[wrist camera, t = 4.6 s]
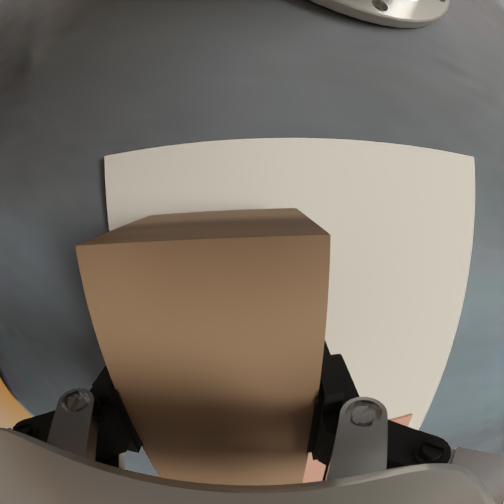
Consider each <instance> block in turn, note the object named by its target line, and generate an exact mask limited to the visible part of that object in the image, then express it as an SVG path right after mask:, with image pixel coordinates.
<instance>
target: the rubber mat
mask: <svg viewBox="0 0 504 504" xmlns="http://www.w3.org/2000/svg"><path fill="white" fill-rule="evenodd" d="M104 159H105V186H106V202H107V214H108V224H109V231H111V230H114V229H116V228H119V227H121V226H124V225H126V224H129V223H131V222H134V221H137V220H139V219H142V218H144V217H147V216H150V215H160V214H174V213H189V212H205V211H224V210H246V209H274V208H297V209H298V210H299V211H301V212H302V213H303V214H305V215H306V216H307V217H308V218H310V219H311V220H312V221H314V222H315V223H316V224H318V225H319V226H320V227H321V228H323V229H324V230H325V231H326V232H328V233H329V234H330V235H331V239H330V270H329V290H328V306H327V319H326V331H325V341H326V344H327V346H328V349H329V352H330V354H331V355H333V354H341V355H342V357H343V359H344V361H345V364H346V366H347V368H348V371H349V373H350V375H351V378H352V380H353V382H354V385H355V387H356V389H357V392H358V394H359V397H370V398H374V399H376V400H378V401H380V402H381V403H382V404H383V405H384V406H385V407H386V410H387V418H388V420H391V421H394V422H396V423H399V424H402V425H405V426H407V427H410V428H413V429H416V430H419V428H420V426H421V424H422V422H423V420H424V418H425V415H426V413H427V411H428V409H429V407H430V404H431V402H432V400H433V397H434V395H435V392H436V390H437V387H438V385H439V382H440V380H441V377H442V374H443V371H444V369H445V366H446V363H447V360H448V357H449V354H450V351H451V347H452V344H453V341H454V337H455V333H456V330H457V326H458V322H459V318H460V314H461V310H462V305H463V301H464V296H465V291H466V285H467V279H468V273H469V267H470V259H471V251H472V242H473V231H474V215H475V165H474V157H471V156H467V155H462V154H457V153H452V152H446V151H441V150H435V149H429V148H422V147H416V146H408V145H400V144H392V143H382V142H372V141H360V140H344V139H322V138H259V139H236V140H221V141H208V142H197V143H187V144H178V145H170V146H163V147H155V148H148V149H142V150H136V151H130V152H124V153H119V154H113V155H108V156H104ZM325 466H326V465H324V464H323V463H321V462H319V461H318V460H313V458H312V452H310V453H308V459H307V463H306V468H305V473H304V478H303V482H302V483H308V482H317V481H322V478H323V474H324V470H325Z"/></svg>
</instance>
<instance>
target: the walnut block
mask: <svg viewBox="0 0 504 504" xmlns="http://www.w3.org/2000/svg"><path fill="white" fill-rule="evenodd" d="M330 239H331V235H330V234H329V233H328V232H326V231H325V230H324V229H323V228H321V227H320V226H319V225H318V224H316V223H315V222H314V221H312V220H311V219H310V218H308V217H307V216H306V215H305V214H303V213H302V212H301V211H299V210H298V209H297V208H274V209H246V210H224V211H205V212H189V213H174V214H160V215H150V216H147V217H144V218H142V219H139V220H137V221H134V222H131V223H129V224H126V225H124V226H121V227H119V228H116V229H114V230H111V231H109V232H107V233H104V234H102V235H99V236H97V237H95V238H92V239H90V240H88V241H85V242H83V243H81V244H78V245H76V246H75V247H76V253H77V259H78V264H79V269H80V274H81V279H82V284H83V288H84V292H85V297H86V301H87V305H88V308H89V312H90V316H91V320H92V323H93V327H94V330H95V333H96V336H97V340H98V343H99V346H100V349H101V352H102V355H103V358H104V361H105V363H106V366H107V369H108V372H109V374H110V377H111V379H112V382H113V385H114V387H115V389H117V390H118V392H119V394H120V397H121V399H122V401H123V404H124V406H125V408H126V411H127V413H128V415H129V417H130V419H131V421H132V424H133V426H134V428H135V430H136V432H137V434H138V436H139V438H140V440H141V442H142V444H143V445H144V446H142V447H143V449H144V451H145V452H146V454H147V456H148V458H149V460H150V461H151V463H152V465H153V466H154V468H155V470H156V471H157V473H158V475H159V476H160V477H161V478H167V479H174V480H181V481H188V482H197V483H207V484H221V485H285V484H298V483H302V482H303V478H304V473H305V468H306V463H307V459H308V453H307V447H308V441H309V436H310V429H311V423H312V417H313V410H314V403H315V396H318V393H319V386H320V378H321V370H322V361H323V352H324V342H325V331H326V319H327V306H328V290H329V270H330Z"/></svg>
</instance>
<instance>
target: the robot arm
mask: <svg viewBox="0 0 504 504" xmlns="http://www.w3.org/2000/svg"><path fill="white" fill-rule="evenodd" d="M310 1H312V2H314V3H316V4H319V5H322V6H324V7H327V8H329V9H331V10H334V11H336V12H339V13H342V14H345V15H348V16H351V17H354V18H357V19H360V20H364V21H368V22H372V23H376V24H380V25H385V26H392V27H399V28H418V27H423V26H427V25H430V24H432V23H433V22H435V21H436V20H438V19H439V18H440V17H441V16H442V15H444V14H445V13H446V12H447V10H448V7H449V4H450V0H310ZM92 385H93V387H92V388H91V390H90V391H89V390H86V389H82V388H77V389H72V390H69V391H67V392H66V393H64V394H63V395H62V396H61V397H60V399H59V401H58V404H57V407H56V410H55V411H52V412H48V413H45V414H42V415H39V416H35V417H32V418H29V419H25V420H22V421H20V422H18V423H17V424H16V425H15V426H14V427H13V430H12V429H11V428H8V429H5V428H0V504H503V502H504V456H503V455H500V454H495V453H488V452H482V451H477V450H471V449H466V448H461V447H456V449H455V450H454V449H451V448H450V446H449V445H448V443H447V442H446V441H445V440H444V439H442V438H440V437H437V436H434V435H431V434H428V433H425V432H422V431H419V430H416V429H413V428H410V427H407V426H405V425H402V424H399V423H396V422H394V421H391V420H388V418H387V410H386V407H385V406H384V405H383V404H382V403H381V402H380V401H378V400H376V399H374V398H370V397H359V394H358V392H357V389H356V387H355V385H354V382H353V380H352V378H351V375H350V373H349V371H348V368H347V366H346V364H345V361H344V359H343V357H342V355H341V354H333V355H331V354H330V352H329V349H328V346H327V344H326V341H325V342H324V352H323V361H322V370H321V378H320V386H319V393H318V396H315V403H314V410H313V417H312V423H311V429H310V436H309V441H308V447H307V453H310V452H312V458H313V460H318V461H319V462H321V463H323V464H324V465H326V466H325V470H324V474H323V478H322V481H317V482H308V483H298V484H285V485H221V484H207V483H197V482H188V481H181V480H174V479H167V478H161V477H156V476H151V475H146V474H141V473H137V472H133V471H128V470H125V465H124V452H126V451H127V450H129V451H133V452H138V453H139V451H140V448H141V446H144V445H143V444H142V442H141V440H140V438H139V436H138V434H137V432H136V430H135V428H134V426H133V424H132V421H131V419H130V417H129V415H128V413H127V411H126V408H125V406H124V404H123V401H122V399H121V397H120V394H119V392H118V390H117V389H115V387H114V385H113V382H112V379H111V377H110V374H109V372H108V369H107V366H105V368H104V369H103V370H102V372H101V373H100V374H99V376H98V377H97V379H96V380H95V382H94V383H93V384H92Z"/></svg>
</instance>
